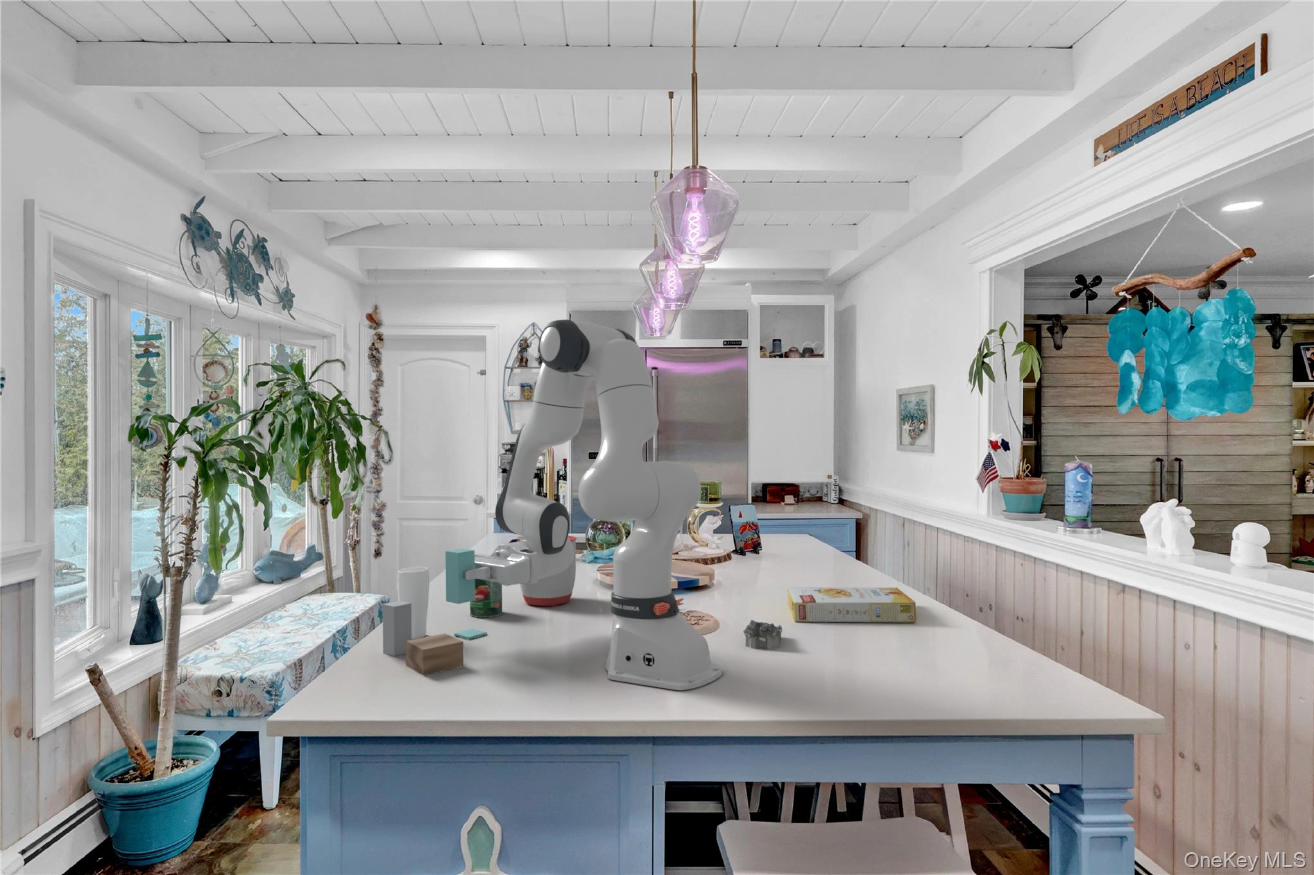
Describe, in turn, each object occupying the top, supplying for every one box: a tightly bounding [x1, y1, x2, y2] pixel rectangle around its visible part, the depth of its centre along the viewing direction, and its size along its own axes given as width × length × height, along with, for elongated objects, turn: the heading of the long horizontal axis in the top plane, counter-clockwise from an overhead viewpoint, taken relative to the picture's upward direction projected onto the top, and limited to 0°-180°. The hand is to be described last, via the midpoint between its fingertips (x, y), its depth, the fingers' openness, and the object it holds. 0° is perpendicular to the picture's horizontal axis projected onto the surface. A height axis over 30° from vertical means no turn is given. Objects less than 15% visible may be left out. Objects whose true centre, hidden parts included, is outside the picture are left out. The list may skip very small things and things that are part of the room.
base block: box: [405, 633, 464, 676], centre depth 142 cm, size 8×8×5 cm
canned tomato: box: [469, 579, 503, 619], centre depth 183 cm, size 8×8×11 cm
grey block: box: [382, 600, 413, 657], centre depth 151 cm, size 4×4×10 cm
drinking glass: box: [396, 566, 430, 640], centre depth 163 cm, size 7×7×15 cm
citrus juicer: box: [516, 535, 577, 607], centre depth 196 cm, size 16×17×20 cm
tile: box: [453, 628, 488, 640], centre depth 163 cm, size 5×5×1 cm
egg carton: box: [743, 619, 783, 651], centre depth 156 cm, size 11×8×4 cm
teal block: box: [445, 548, 476, 605], centre depth 147 cm, size 4×4×10 cm
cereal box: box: [787, 586, 917, 623], centre depth 181 cm, size 20×6×28 cm
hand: (456, 573), depth 146 cm, fingers closed on teal block, 4 cm apart
